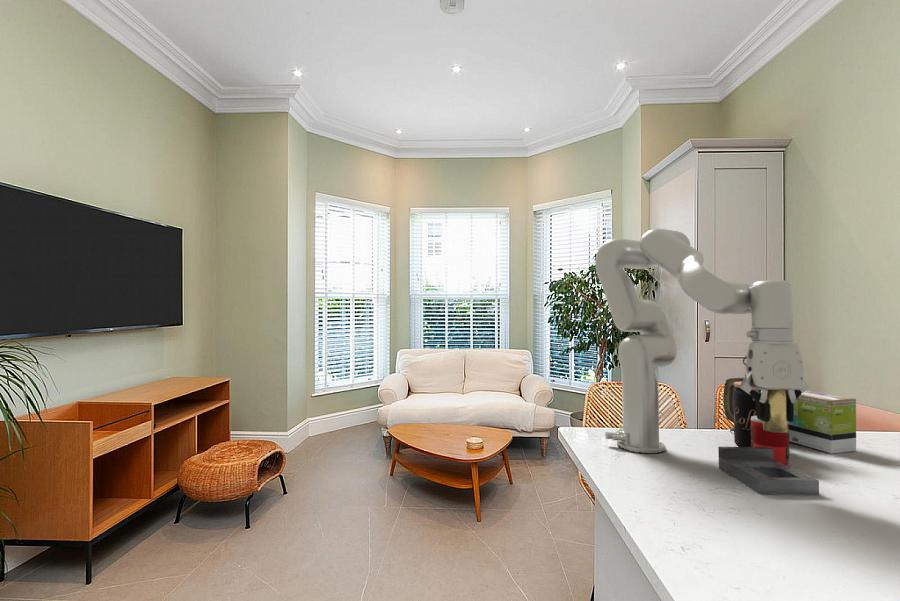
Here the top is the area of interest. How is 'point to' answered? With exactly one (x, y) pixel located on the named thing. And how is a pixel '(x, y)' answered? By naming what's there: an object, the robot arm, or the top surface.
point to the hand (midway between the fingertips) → (774, 419)
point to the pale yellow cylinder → (776, 411)
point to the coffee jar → (743, 416)
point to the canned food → (770, 440)
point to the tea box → (824, 422)
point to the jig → (765, 472)
